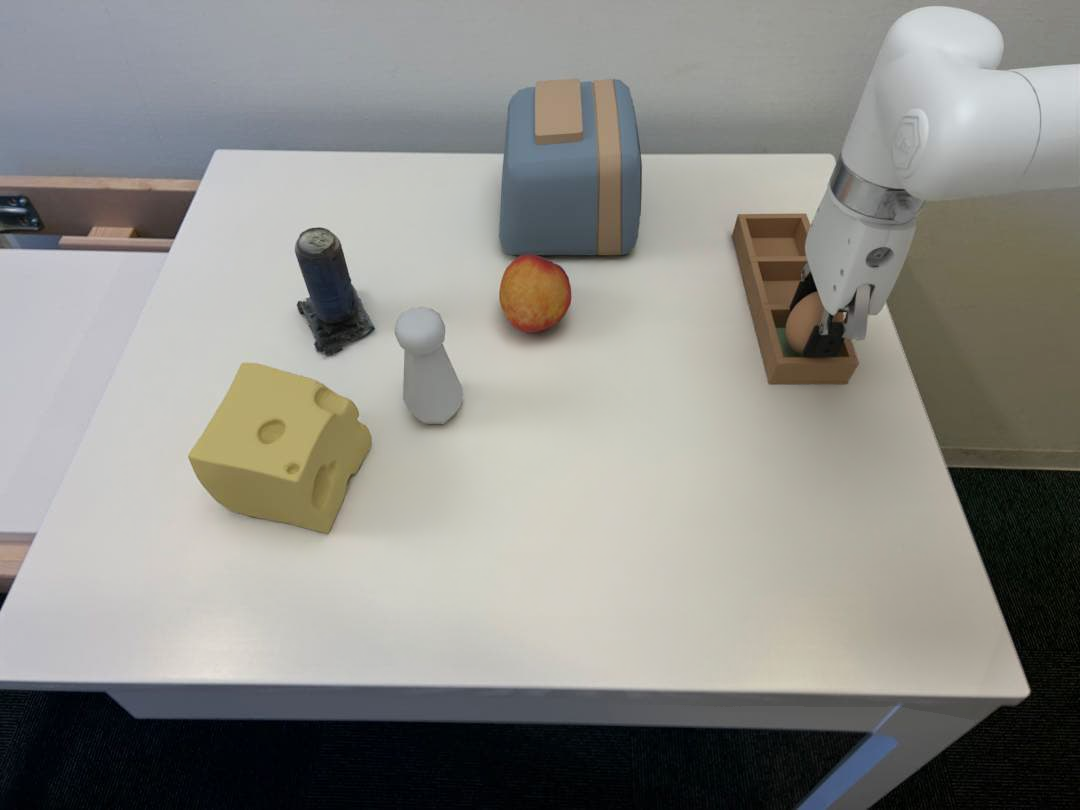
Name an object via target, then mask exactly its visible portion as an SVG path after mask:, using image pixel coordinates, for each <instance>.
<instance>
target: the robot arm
mask: <svg viewBox="0 0 1080 810" xmlns="http://www.w3.org/2000/svg"><path fill="white" fill-rule="evenodd" d="M1004 48H1005V44H1004V37H1003V34H1002V32H1001V31H1000V29H999V28H998V27H997V25H996V24H995V23H994V22H992V21H991V20H990V19H989V18H986V17H984V16H983V15H982V14H979V13H976V12H973V11H971V10H969V9H968V10H967V9H963V8H960V7H954V6H945V5H929V6H922V7H918V8H915V9H912V10H910V11H907V12H906V13H904V14H902V16H900V17H898V19H896V20H895V22H894V23H892V25H891V26H890V28H889V29H888V31H887V33H886V36H885V37H884V39H883V42H882V44H881V47H880V49H879V52H878V55H877V58H876V60H875V62H874V64H873V67H872V70H871V72H870V75H869V77H868V80H867V82H866V85H865V88H864V91H863V93H862V96H861V98H860V101H859V103H858V106H857V109H856V112H855V113H854V116H853V119H852V120H851V121H852V122H851V124H850V127H849V129H848V131H847V134H846V137H845V140H844V142H843V146H842V148H841V150H840V152H839V154H838V157H837V159H836V163H835V165H834V167H833V170H832V172H831V176H830V178H829V181H828V183H827V187H826V190H825V192H824V193H823V196H822V199H821V201H820V203H819V204H818V207H817V209H816V211H815V214H814V215H813V217H812V221H811V223H810V225H811V226H810V228H809V231H808V234H807V238H806V241H805V253H806V257H807V263H806V264H805V266H804V267H803V269H802V271H801V279H802V280H805V281H800V282H799V285H798V287H797V290H796V292H795V295H794V297H793V300H792V302H791V305H790V307H789V308H790V311H792V310H793V308H794V307H795V306H796V304H797V303H799V302H800V301H801V300H802V299H803V298H805V297H806V296H808V295H809V294H811V293H813V292H817V291H818V293H819V296H820V299H821V301H822V304H823V306H824V310H823V313H822V317H821V321H820V325H817V326H814V328H813V330H812V332H811V335H810V337H809V339H808V341H807V343H806V346H805V348H804V350H803V354H804V357H821V358H822V357H834V356H836V355H837V353H838V351H839V349H840V347H841V345H842V343H843V341H844V340H845V339H848V340H851V341H864V340H865V339H866V337H867V329H868V319H869V316H877V315H879V314H880V313H881V311H882V310H883V308H884V307H885V305H886V302H887V301H888V299H889V297H890V295H891V293H892V291H893V289H894V287H895V285H896V282H897V281H898V278H899V276H900V275H901V272H902V269H903V267H904V264H905V262H906V259H907V257H908V254H909V252H910V249H911V246H912V243H913V239H914V237H915V232H916V229H917V224H918V223H917V219H916V217H917V216H919V214H920V213H921V212H922V210H923V208H924V206H925V205H926V202H947V201H957V200H965V199H976V198H983V197H984V198H985V197H992V196H999V195H1008V194H1018V193H1027V192H1035V191H1047V190H1059V189H1068V188H1069V189H1070V188H1075V187H1080V63H1072V64H1070V63H1069V64H1056V65H1045V66H1033V67H1025V68H1013V69H1011V68H1010V69H1003V70H1002V69H1001V70H1000V69H998V68H999V66H1000V63H1001V60H1002V57H1003V53H1004ZM838 312H843V313H845V316H844V322H832V319H833V316H834V315H835V314H836V313H838Z"/></svg>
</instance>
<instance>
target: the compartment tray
mask: <svg viewBox="0 0 1080 810" xmlns="http://www.w3.org/2000/svg"><path fill="white" fill-rule="evenodd" d="M735 219H736V220H735V223H734V226H733V231H732V234H731V239H732V243H733V247H734V251H735V256H736V259H737V263H738V267H739V271H740V275H741V279H742V283H743V287H744V291H745V296H746V300H747V303H748V307H749V311H750V315H751V319H752V323H753V327H754V331H755V335H756V339H757V342H758V347H759V351H760V355H761V359H762V363H763V367H764V371H765V376H766V379H767V383H768V385H844V384H845V385H846V384H848V383H849V382H850V381H851V378H852V376H853V374H854V373H855V371H856V369H857V367H858V366H859V364H860V361H859V358H858V355H857V353H856V350H855V347H854V344H853V340H848V339H845V340H844V341H843V343H842V345H841V347H840V349H839V351H838V353H837V355H836V356H834V357H822V358H821V357H804V356H803V355H800V354H798V353H796V352H795V351H794V350H793V349H792V348H791V347H790V345H789V343H788V341H787V338H786V323H787V320H788V317H789V315H790V313H791V311H790V308H789V307H790V305H791V302H792V300H793V297H794V295H795V292H796V290H797V287H798V285H799V282H800V281H805V280H802V279H801V271H802V269H803V267H804V266H805V264H806V263H807V257H806V253H805V241H806V238H807V234H808V231H809V228H810V226H811V223H810V220H809V217H808V214H807V213H804V212H803V213H737V216H736V218H735Z"/></svg>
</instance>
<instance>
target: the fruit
mask: <svg viewBox="0 0 1080 810" xmlns="http://www.w3.org/2000/svg"><path fill="white" fill-rule="evenodd" d="M499 285H500V286H499V290H498V291H499V292H498V295H499V300H498V301H499V303H500V307H501V310H502V312H503V313H504V316H505V318H506V319H507V321H508V322H509V323H510V324H511V325H512V326H513V327H514V328H515V329H517V330H519V331H520V332H524V333H537V332H540V331H543V330H546V329H549V328H551V327H553V326H554V325H556V324H557V323H559V322H560V321H561V320H562V319H563V318H564V317H565V315H566V314H567V313H568V310H569V308H570V306H571V303H572V287H571V283H570V279H569V276H568V275H567V272H566V271H565V270H564V267H562V266H561V265H560V264H557V263H556V262H554V261H552V260H550V259H547V258H545V257H542V256H540V255H532V254H525V255H518V256H517V257H516V258H514V259H513V260H512V261H511V262H510V264H508V265H507V266H506V268H505V270H504V272H503V275H502V277H501V281H500V284H499Z"/></svg>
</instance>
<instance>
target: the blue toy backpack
mask: <svg viewBox="0 0 1080 810" xmlns="http://www.w3.org/2000/svg"><path fill="white" fill-rule="evenodd" d="M638 130H639V129H638V123H637V116H636V109H635V106H634V100H633V97H632V93H631V90H630V87H629V86H628V85H627V84H626V83H624V82H623V81H622V80H621V79H615V78H613V79H612V78H608V79H597V80H593V81H592V80H587V81H581V79H580V78H578V77H577V78H576V77H575V78H565V79H552V80H551V79H550V80H540V81H536V82H535V85H534V86H529V87H528V86H527V87H524V88H520V89H518V90H517V91H516V92H515V93H514V94H513V95H512V97H511V98H510V100H509V103H508V106H507V116H506V127H505V138H504V146H503V147H504V149H503V160H502V171H501V172H502V173H501V188H500V189H501V191H500V209H499V224H498V225H499V228H498V239H499V243H500V247H501V249H502V250H503V251H505V252H506V253H507V254H510V255H513V256H521V255H525V254H532V255H537V256H620V255H622V256H623V255H626V254H629V253H630V252H631V251H632V250H634V249H635V248H636V245H637V242H638V238H639V228H640V222H641V216H642V215H641V213H642V193H643V192H642V189H643V163H642V162H643V161H642V153H641V146H640V137H639V131H638Z"/></svg>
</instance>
